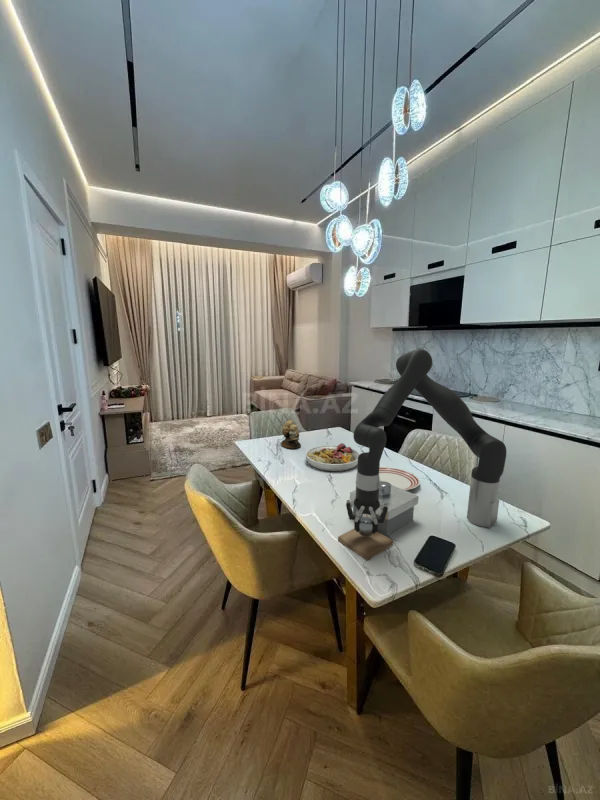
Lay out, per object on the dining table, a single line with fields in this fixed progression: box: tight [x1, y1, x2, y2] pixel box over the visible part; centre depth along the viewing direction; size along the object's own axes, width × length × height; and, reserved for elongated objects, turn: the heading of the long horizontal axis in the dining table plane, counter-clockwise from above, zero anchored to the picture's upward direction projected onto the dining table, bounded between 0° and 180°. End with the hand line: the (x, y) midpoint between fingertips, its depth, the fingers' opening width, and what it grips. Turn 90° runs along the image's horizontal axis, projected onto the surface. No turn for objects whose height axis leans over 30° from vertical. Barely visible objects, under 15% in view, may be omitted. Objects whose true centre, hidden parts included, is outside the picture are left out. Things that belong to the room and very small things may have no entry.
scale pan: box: [349, 480, 419, 520], centre depth 126 cm, size 18×18×3 cm
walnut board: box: [337, 528, 394, 561], centre depth 112 cm, size 13×13×2 cm
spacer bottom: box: [379, 481, 391, 497], centre depth 125 cm, size 5×5×4 cm
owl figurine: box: [280, 419, 302, 450], centre depth 210 cm, size 18×12×17 cm, turn 27°
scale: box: [352, 505, 415, 536], centre depth 126 cm, size 16×17×8 cm
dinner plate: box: [379, 466, 420, 491], centre depth 158 cm, size 28×27×3 cm
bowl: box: [305, 442, 361, 472], centre depth 183 cm, size 30×30×8 cm
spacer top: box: [358, 517, 374, 536], centre depth 111 cm, size 5×5×4 cm
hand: (365, 531), depth 111 cm, fingers closed on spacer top, 5 cm apart
